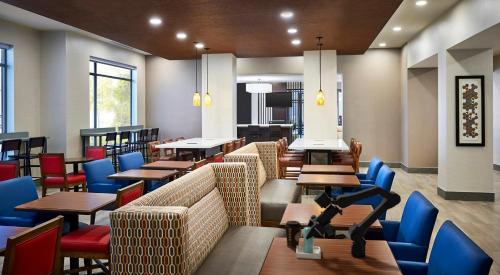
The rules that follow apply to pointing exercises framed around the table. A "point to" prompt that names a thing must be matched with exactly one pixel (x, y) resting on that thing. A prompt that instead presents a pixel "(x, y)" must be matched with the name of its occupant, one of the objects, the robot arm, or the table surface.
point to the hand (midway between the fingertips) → (305, 236)
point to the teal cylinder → (308, 241)
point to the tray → (314, 255)
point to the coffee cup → (292, 233)
